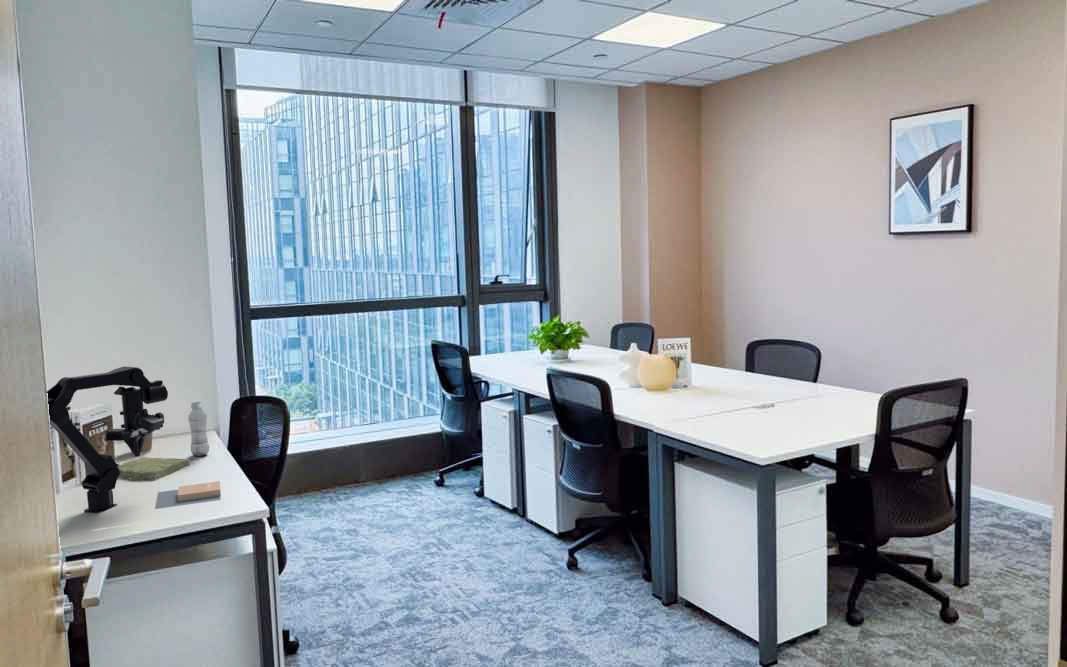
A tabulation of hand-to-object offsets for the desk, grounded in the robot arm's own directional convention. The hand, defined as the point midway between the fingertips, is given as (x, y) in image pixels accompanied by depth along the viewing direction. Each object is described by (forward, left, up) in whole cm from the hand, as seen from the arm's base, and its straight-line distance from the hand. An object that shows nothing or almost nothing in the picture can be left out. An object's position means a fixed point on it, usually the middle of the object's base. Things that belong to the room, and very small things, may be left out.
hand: (137, 456), depth 243 cm
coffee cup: (+51, +41, -13) cm, 67 cm away
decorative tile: (+26, +18, -14) cm, 35 cm away
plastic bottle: (+48, +13, -13) cm, 52 cm away
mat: (+2, -16, -13) cm, 20 cm away
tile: (0, -13, -12) cm, 18 cm away
